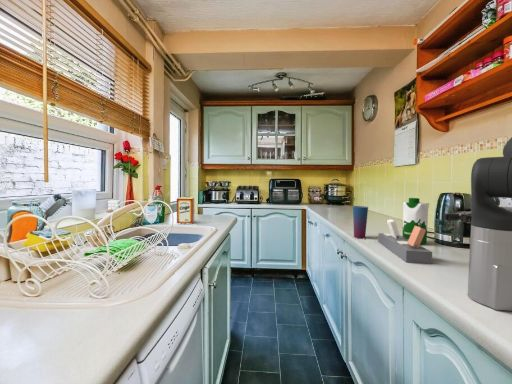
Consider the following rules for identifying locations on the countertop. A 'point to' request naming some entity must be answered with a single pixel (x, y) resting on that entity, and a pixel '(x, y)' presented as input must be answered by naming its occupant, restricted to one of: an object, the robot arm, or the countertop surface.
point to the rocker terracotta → (416, 236)
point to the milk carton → (415, 217)
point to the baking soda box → (185, 210)
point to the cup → (360, 221)
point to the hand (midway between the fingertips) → (444, 216)
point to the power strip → (405, 249)
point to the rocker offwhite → (393, 228)
